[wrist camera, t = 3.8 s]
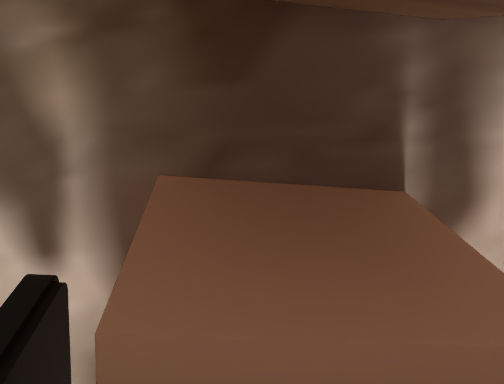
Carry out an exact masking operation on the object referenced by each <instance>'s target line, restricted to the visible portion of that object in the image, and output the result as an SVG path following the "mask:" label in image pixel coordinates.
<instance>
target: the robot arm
mask: <svg viewBox="0 0 504 384" xmlns="http://www.w3.org/2000/svg"><path fill="white" fill-rule="evenodd" d="M0 384H71V362H70V336H69V309H68V288H67V284H66V283H60V282H59V280H58V277H57V276H56V275H37V274H27V275H26V276H25V277H24V278H23V279H22V280H21V282H20V283H19V284H18V286H17V287H16V288H15V289H14V291H13V292H12V293H11V294H10V296H9V297H8V298H7V300H6V301H5V302H4V303H3V305H2V306H1V307H0Z"/></svg>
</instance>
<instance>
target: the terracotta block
mask: <svg viewBox="0 0 504 384" xmlns="http://www.w3.org/2000/svg"><path fill="white" fill-rule="evenodd" d="M95 353H96V384H504V273H503V272H502V271H500V270H499V269H498V268H497V267H496V266H494V265H493V264H492V263H491V262H490V261H488V260H487V259H486V258H485V257H483V256H482V255H481V254H480V253H479V252H477V251H476V250H475V249H474V248H473V247H471V246H470V245H469V244H468V243H467V242H465V241H464V240H463V239H462V238H460V237H459V236H458V235H457V234H456V233H454V232H453V231H452V230H451V229H450V228H448V227H447V226H446V225H445V224H443V223H442V222H441V221H440V220H439V219H437V218H436V217H435V216H434V215H433V214H431V213H430V212H429V211H428V210H426V209H425V208H424V207H423V206H422V205H420V204H419V203H418V202H417V201H416V200H414V199H413V198H412V197H411V196H409V195H408V194H407V193H406V192H401V191H387V190H372V189H357V188H342V187H327V186H312V185H297V184H282V183H267V182H252V181H237V180H222V179H207V178H192V177H178V176H163V175H159V176H158V178H157V181H156V183H155V186H154V188H153V191H152V193H151V196H150V198H149V201H148V203H147V206H146V208H145V211H144V213H143V216H142V218H141V221H140V223H139V226H138V228H137V231H136V233H135V236H134V238H133V241H132V243H131V246H130V248H129V251H128V253H127V256H126V258H125V261H124V263H123V265H122V268H121V270H120V273H119V275H118V278H117V280H116V283H115V285H114V288H113V290H112V293H111V295H110V298H109V300H108V303H107V305H106V308H105V310H104V313H103V315H102V318H101V320H100V323H99V325H98V328H97V330H96V333H95Z"/></svg>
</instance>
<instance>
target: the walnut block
mask: <svg viewBox="0 0 504 384" xmlns="http://www.w3.org/2000/svg"><path fill="white" fill-rule="evenodd" d="M272 1H281V2H290V3H299V4H308V5H317V6H326V7H335V8H344V9H353V10H362V11H371V12H380V13H389V14H398V15H407V16H416V17H425V18H434V19H459V18H474V17H490V16H504V0H272Z"/></svg>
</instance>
